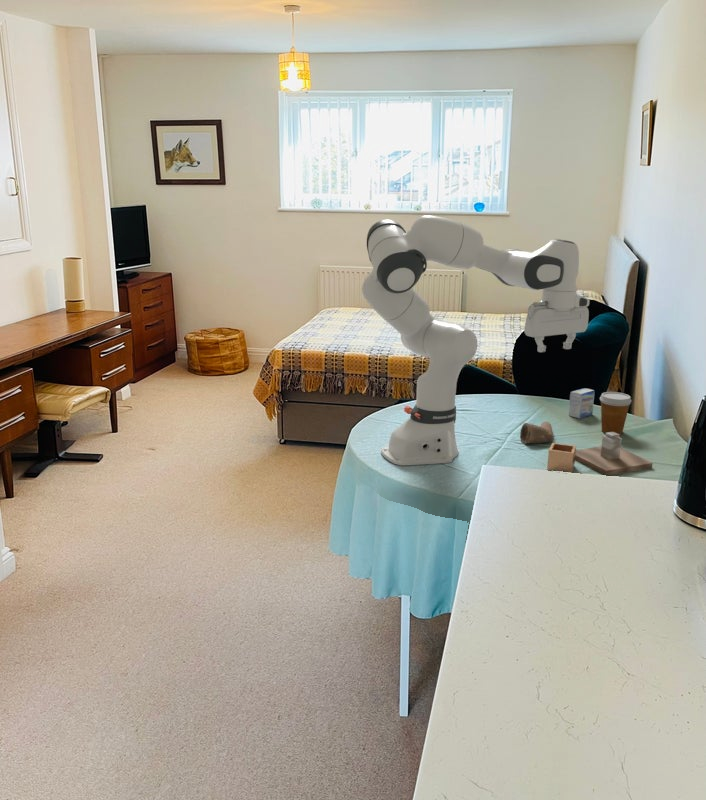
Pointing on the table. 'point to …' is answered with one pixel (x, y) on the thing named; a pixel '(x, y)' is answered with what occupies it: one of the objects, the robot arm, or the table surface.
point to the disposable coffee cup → (614, 411)
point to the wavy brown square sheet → (611, 457)
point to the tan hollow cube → (561, 457)
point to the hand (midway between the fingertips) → (554, 350)
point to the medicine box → (581, 403)
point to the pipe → (536, 433)
